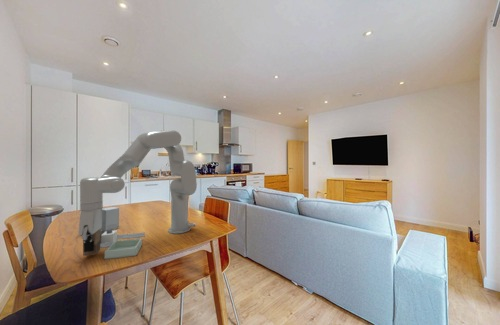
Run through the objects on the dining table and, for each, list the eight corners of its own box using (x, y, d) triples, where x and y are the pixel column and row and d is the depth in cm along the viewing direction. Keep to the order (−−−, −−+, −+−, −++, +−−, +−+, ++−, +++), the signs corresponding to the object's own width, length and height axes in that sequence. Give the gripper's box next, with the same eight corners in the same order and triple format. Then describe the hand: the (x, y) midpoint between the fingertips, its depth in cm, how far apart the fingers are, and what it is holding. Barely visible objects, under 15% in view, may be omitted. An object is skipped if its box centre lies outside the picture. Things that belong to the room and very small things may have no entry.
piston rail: (144, 236, 109) (144, 227, 109) (140, 243, 98) (140, 233, 98) (102, 240, 103) (102, 230, 103) (92, 248, 92) (92, 238, 92)
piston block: (117, 239, 102) (117, 227, 102) (112, 244, 97) (113, 231, 97) (105, 240, 101) (106, 228, 101) (100, 245, 95) (101, 232, 95)
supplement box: (119, 228, 121) (119, 207, 121) (105, 231, 115) (105, 210, 115) (113, 226, 125) (113, 206, 125) (99, 229, 119) (100, 208, 119)
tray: (141, 245, 96) (142, 238, 96) (135, 256, 85) (136, 248, 85) (114, 248, 93) (114, 241, 93) (104, 259, 81) (104, 251, 82)
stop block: (100, 249, 87) (100, 229, 87) (95, 254, 83) (95, 233, 83) (88, 251, 86) (88, 230, 86) (83, 255, 81) (82, 234, 81)
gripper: (90, 202, 91) (90, 242, 91) (69, 211, 75) (70, 259, 75) (109, 201, 93) (109, 240, 93) (93, 210, 77) (93, 256, 77)
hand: (92, 248), depth 84 cm, fingers closed on stop block, 4 cm apart
